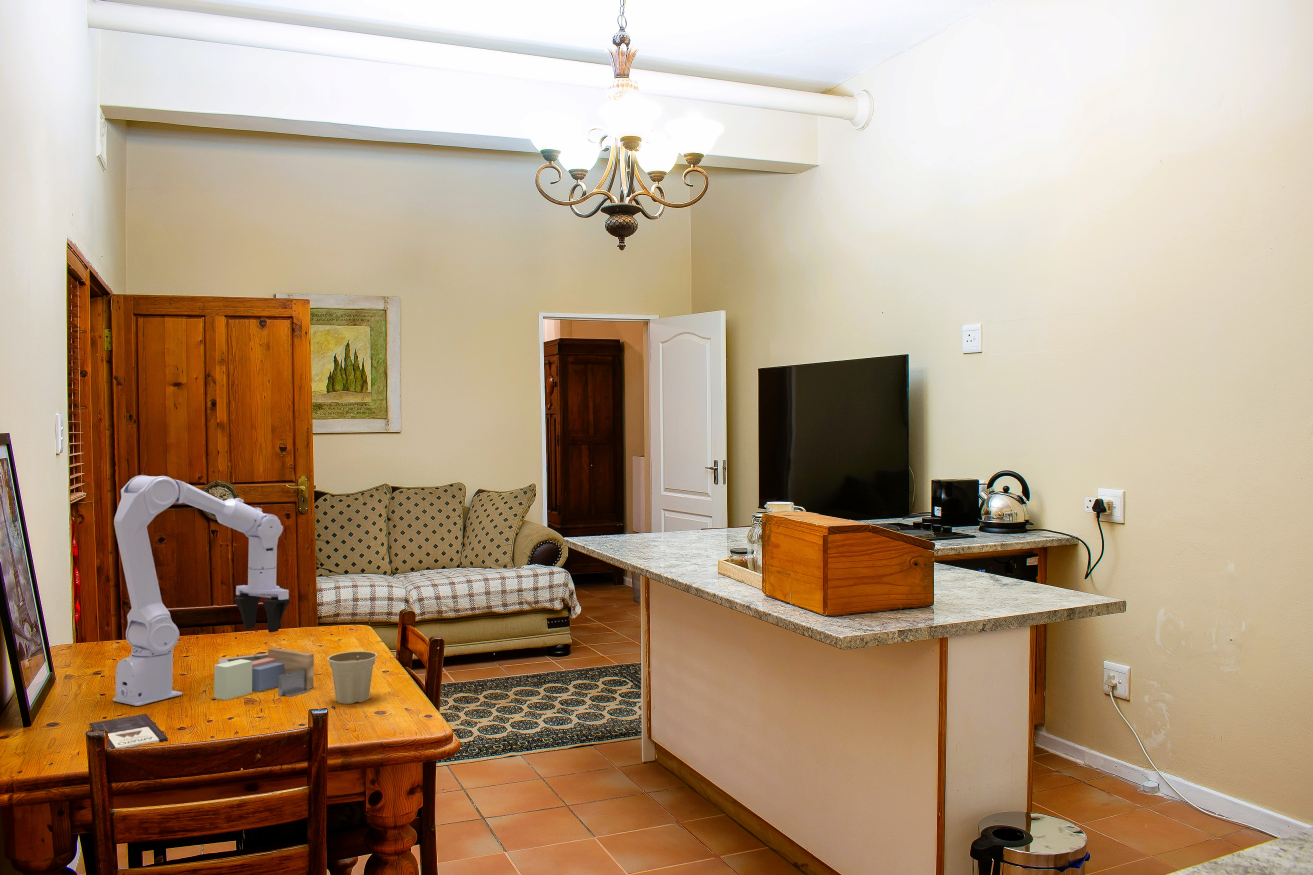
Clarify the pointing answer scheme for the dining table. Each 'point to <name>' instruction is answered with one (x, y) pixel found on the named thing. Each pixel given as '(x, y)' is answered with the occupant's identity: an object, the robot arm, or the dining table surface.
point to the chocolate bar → (130, 731)
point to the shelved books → (266, 674)
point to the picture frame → (250, 658)
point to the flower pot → (352, 675)
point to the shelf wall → (295, 662)
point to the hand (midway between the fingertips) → (261, 629)
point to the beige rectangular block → (232, 679)
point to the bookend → (292, 683)
